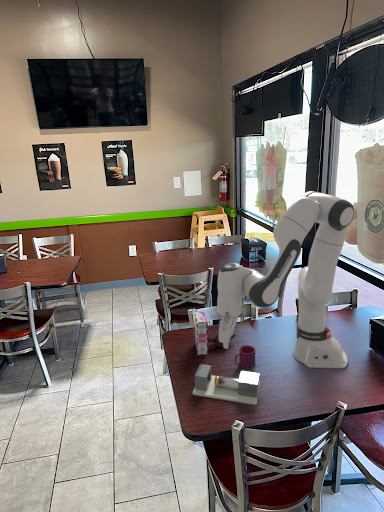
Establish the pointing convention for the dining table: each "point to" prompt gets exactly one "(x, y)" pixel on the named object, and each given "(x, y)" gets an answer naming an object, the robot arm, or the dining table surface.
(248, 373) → the dark grey cube cap
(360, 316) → the dining table surface
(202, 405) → the dining table surface
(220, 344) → the icecream
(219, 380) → the tube
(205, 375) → the socket
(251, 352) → the mug
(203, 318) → the candy bar box
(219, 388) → the board
